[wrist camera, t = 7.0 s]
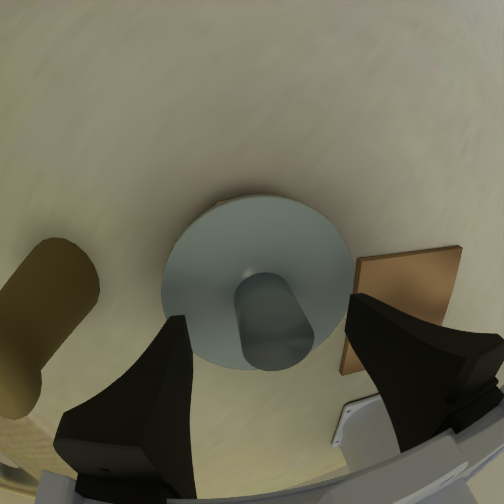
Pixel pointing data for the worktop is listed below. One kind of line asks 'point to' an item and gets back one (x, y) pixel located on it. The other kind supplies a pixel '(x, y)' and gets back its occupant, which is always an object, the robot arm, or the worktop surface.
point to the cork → (40, 317)
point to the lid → (258, 282)
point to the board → (406, 287)
